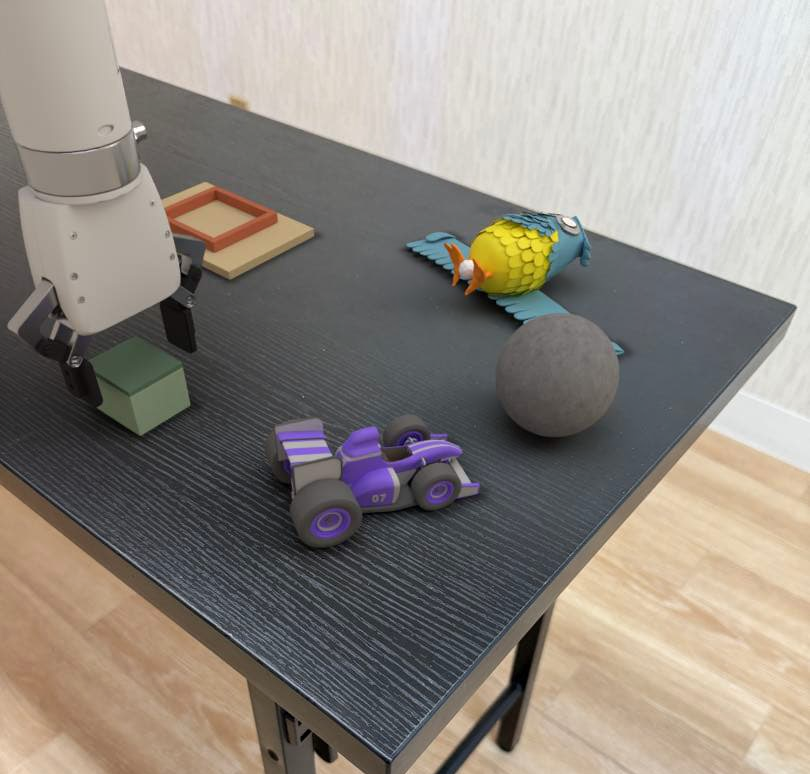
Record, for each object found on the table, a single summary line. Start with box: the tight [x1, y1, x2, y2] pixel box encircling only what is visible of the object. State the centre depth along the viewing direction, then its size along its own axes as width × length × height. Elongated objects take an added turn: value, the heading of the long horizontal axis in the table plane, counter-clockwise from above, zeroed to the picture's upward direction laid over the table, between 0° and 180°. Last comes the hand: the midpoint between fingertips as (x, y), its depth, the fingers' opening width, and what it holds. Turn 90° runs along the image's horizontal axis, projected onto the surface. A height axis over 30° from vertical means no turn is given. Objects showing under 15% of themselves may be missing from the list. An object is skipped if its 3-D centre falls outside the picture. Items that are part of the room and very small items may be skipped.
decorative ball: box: [494, 313, 620, 438], centre depth 66 cm, size 10×10×10 cm
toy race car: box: [264, 413, 481, 549], centre depth 61 cm, size 10×15×6 cm, turn 111°
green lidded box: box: [88, 335, 191, 437], centre depth 68 cm, size 6×6×4 cm
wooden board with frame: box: [161, 181, 315, 281], centre depth 91 cm, size 18×13×2 cm
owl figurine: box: [405, 210, 625, 356], centre depth 81 cm, size 28×9×15 cm
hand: (137, 372), depth 67 cm, fingers open, 9 cm apart
